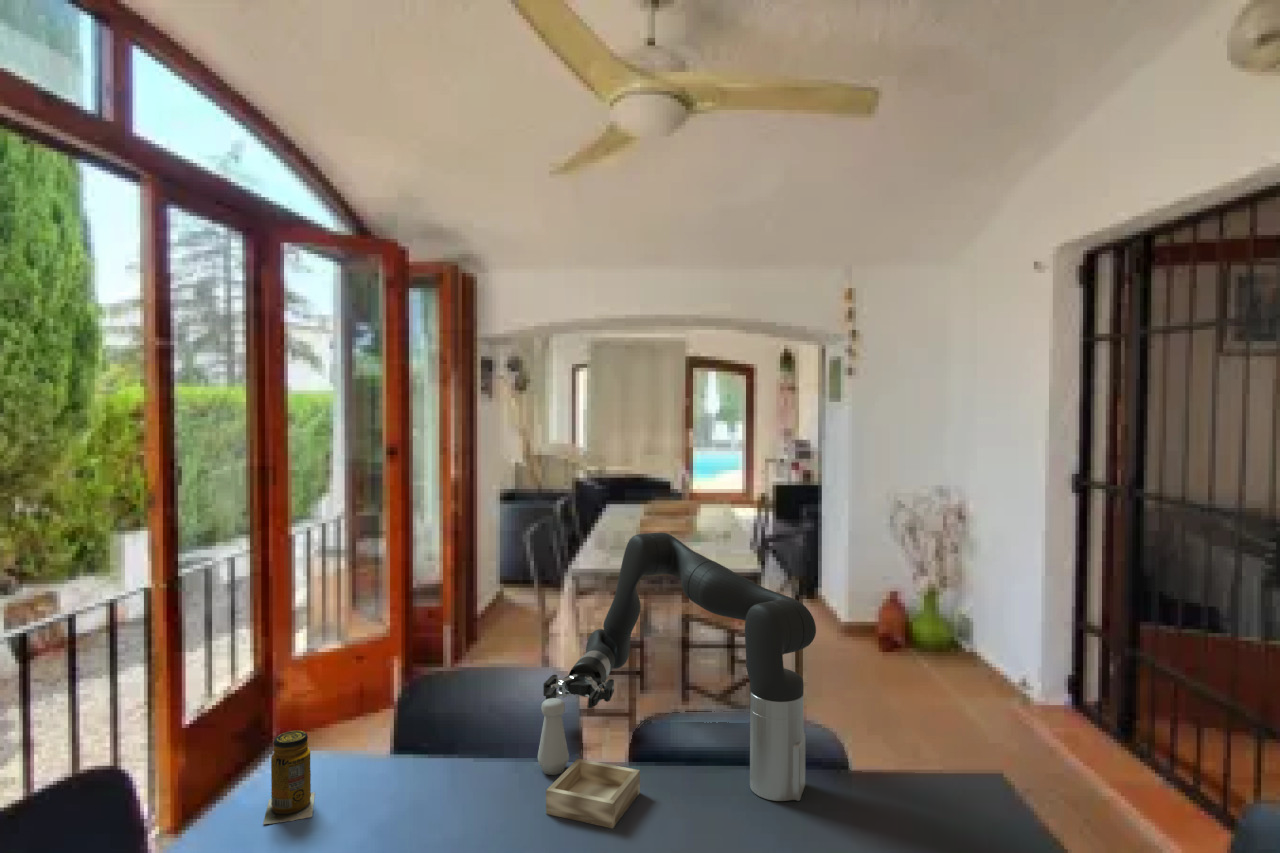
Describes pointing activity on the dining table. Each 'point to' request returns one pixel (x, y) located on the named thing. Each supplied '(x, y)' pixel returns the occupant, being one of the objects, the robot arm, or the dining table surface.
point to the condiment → (290, 779)
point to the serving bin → (593, 793)
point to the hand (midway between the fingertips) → (569, 701)
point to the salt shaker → (553, 738)
